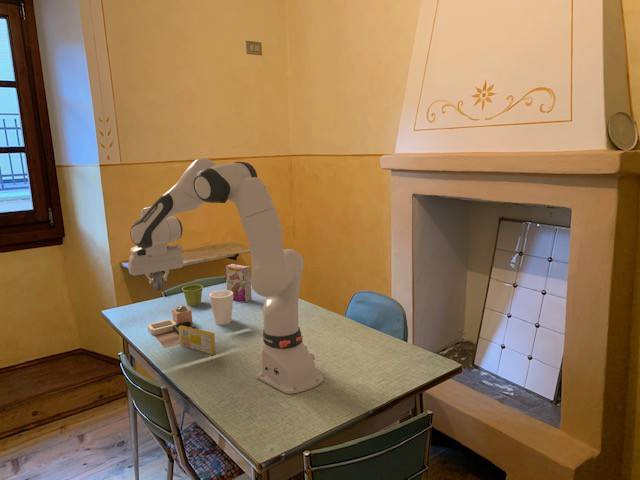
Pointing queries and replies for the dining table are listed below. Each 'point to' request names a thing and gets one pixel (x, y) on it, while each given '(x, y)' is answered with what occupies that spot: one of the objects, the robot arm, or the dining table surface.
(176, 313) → the terracotta square box
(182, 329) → the candy box
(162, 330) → the trough
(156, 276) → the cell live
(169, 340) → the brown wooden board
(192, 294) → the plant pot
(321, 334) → the dining table surface
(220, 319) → the foam cup
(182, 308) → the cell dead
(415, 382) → the dining table surface
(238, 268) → the candy bar box
